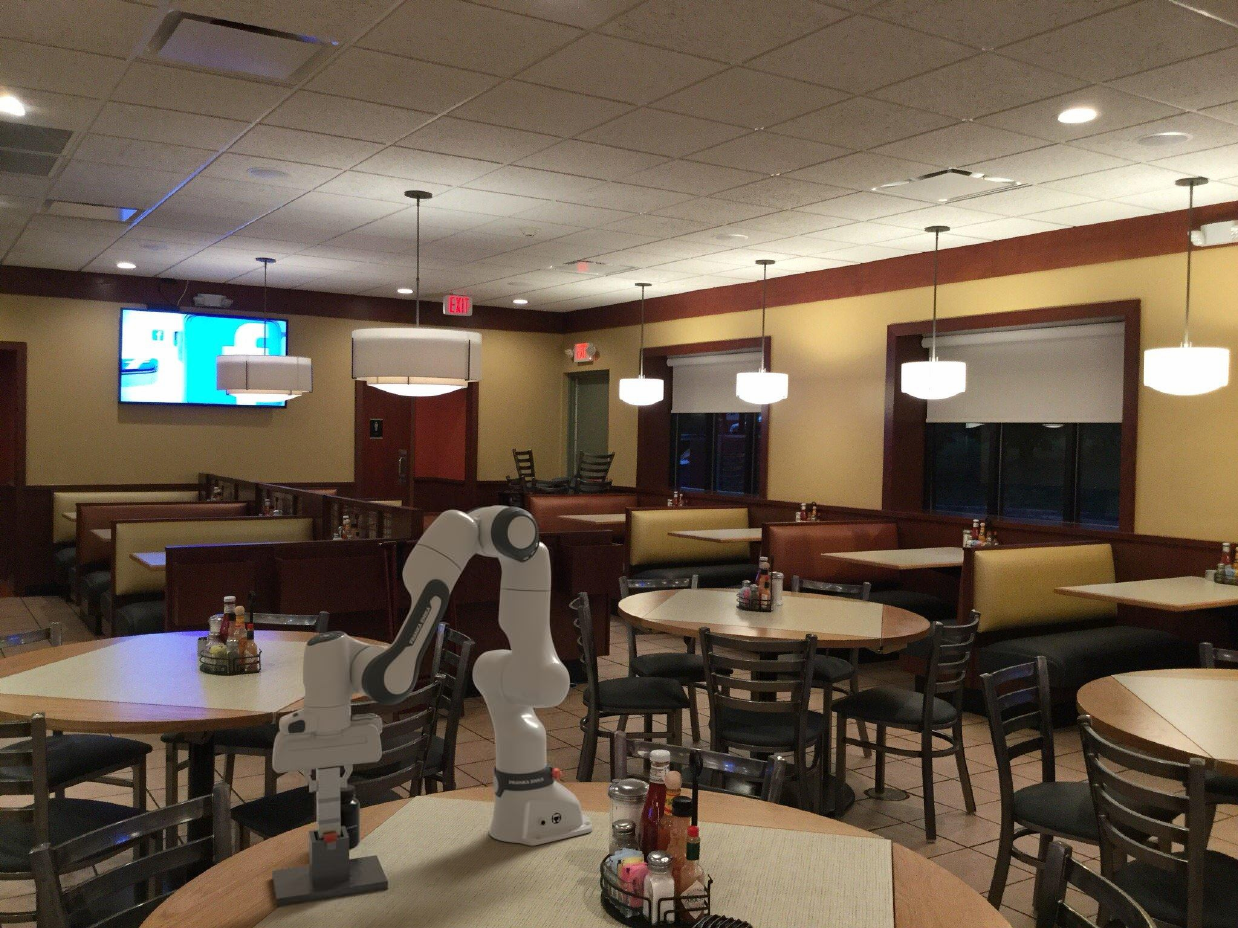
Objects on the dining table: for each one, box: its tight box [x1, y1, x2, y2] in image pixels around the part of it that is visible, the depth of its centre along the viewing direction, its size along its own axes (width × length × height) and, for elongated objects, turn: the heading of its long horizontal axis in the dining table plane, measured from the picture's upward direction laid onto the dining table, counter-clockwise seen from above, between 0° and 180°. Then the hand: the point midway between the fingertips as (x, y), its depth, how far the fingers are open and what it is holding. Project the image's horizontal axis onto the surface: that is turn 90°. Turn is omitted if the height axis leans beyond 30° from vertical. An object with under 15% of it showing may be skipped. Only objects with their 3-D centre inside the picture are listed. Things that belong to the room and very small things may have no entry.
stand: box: [271, 826, 389, 908], centre depth 196 cm, size 20×14×10 cm
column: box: [315, 766, 341, 841], centre depth 196 cm, size 4×4×16 cm
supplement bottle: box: [340, 784, 361, 849], centre depth 216 cm, size 7×7×12 cm
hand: (328, 789), depth 196 cm, fingers closed on column, 4 cm apart
